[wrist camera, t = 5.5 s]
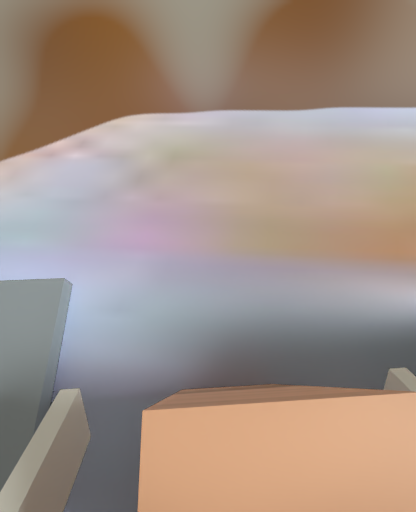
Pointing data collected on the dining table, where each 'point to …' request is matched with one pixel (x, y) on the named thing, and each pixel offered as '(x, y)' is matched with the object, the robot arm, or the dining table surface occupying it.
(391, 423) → the pillar
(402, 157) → the dining table surface
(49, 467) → the robot arm
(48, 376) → the baseplate
